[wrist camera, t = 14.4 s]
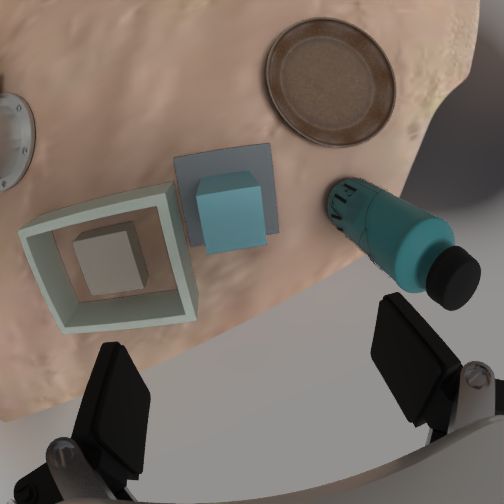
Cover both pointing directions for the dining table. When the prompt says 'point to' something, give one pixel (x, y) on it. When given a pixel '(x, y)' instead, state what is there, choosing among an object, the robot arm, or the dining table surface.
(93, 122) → the dining table surface
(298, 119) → the saucer
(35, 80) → the dining table surface
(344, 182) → the beverage bottle
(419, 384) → the robot arm
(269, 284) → the dining table surface
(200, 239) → the mat
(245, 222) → the block
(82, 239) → the frame
